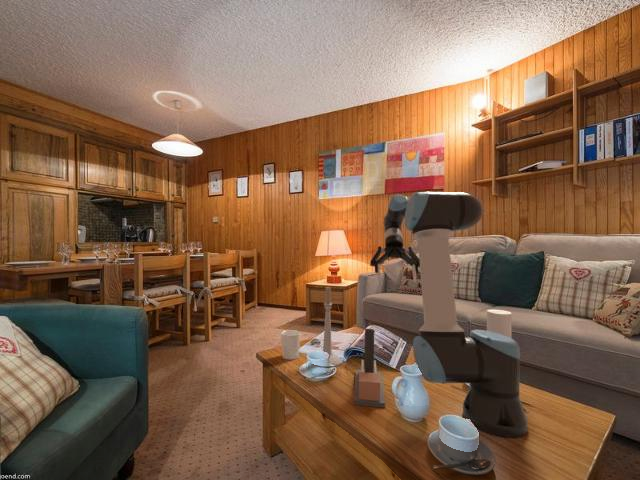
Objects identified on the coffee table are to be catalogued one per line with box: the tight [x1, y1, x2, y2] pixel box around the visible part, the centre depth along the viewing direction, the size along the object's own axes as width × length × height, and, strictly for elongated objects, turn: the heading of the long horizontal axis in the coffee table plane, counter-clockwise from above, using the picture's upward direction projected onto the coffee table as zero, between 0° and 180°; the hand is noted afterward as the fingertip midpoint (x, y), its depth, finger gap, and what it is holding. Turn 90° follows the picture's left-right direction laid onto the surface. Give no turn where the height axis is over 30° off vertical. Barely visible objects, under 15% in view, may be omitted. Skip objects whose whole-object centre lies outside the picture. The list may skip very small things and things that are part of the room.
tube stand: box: [353, 359, 386, 408], centre depth 99 cm, size 22×9×6 cm, turn 172°
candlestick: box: [322, 286, 344, 367], centre depth 121 cm, size 13×13×30 cm
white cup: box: [280, 329, 301, 360], centre depth 125 cm, size 8×8×10 cm
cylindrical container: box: [486, 308, 513, 339], centre depth 101 cm, size 7×7×25 cm
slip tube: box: [364, 328, 375, 373], centre depth 97 cm, size 12×3×17 cm, turn 172°
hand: (397, 279), depth 117 cm, fingers open, 13 cm apart
